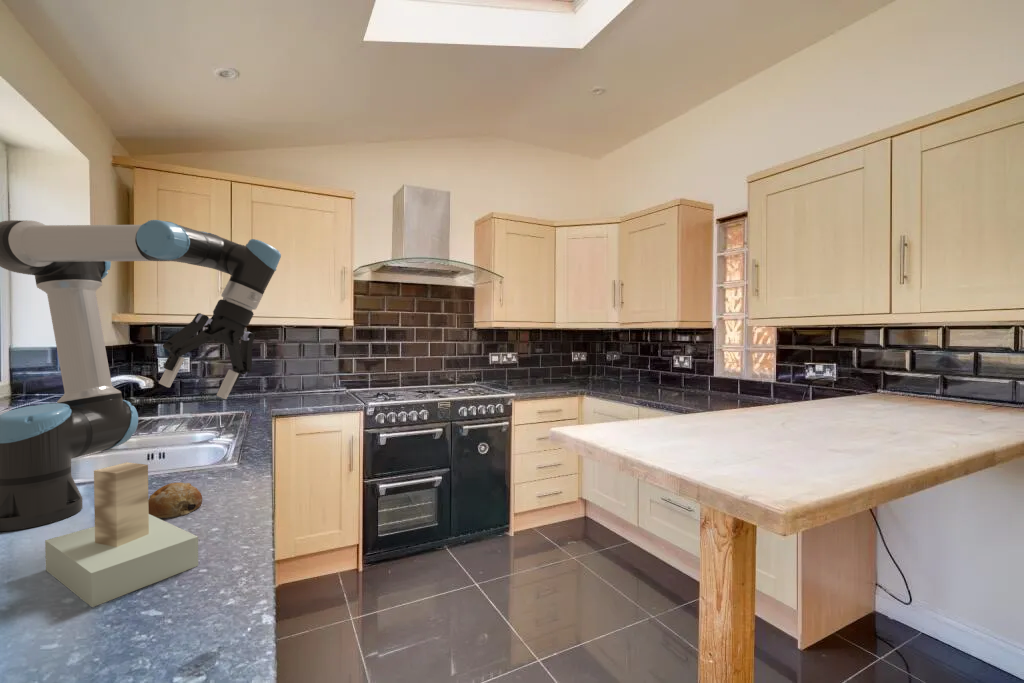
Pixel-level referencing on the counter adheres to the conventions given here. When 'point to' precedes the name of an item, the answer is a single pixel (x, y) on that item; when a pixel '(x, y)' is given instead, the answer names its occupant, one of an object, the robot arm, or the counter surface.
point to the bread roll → (174, 500)
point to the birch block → (121, 503)
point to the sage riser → (119, 561)
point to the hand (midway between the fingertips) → (194, 391)
